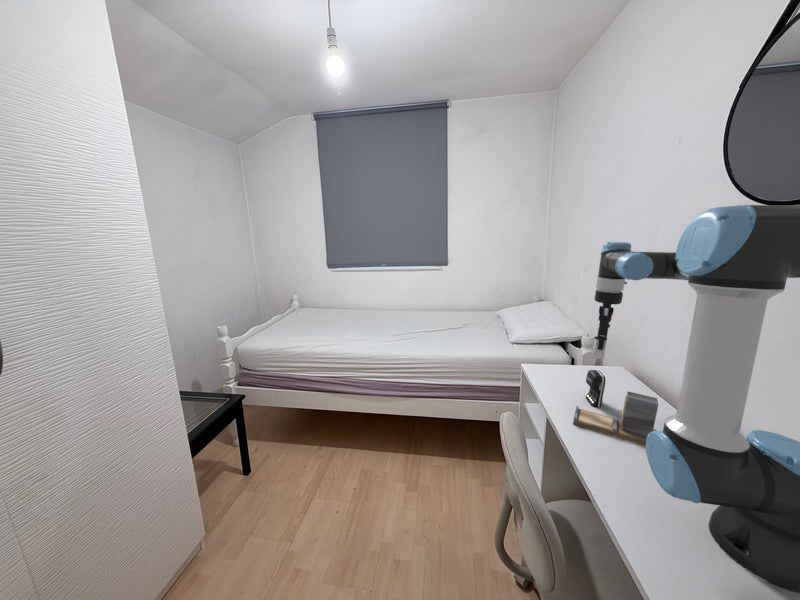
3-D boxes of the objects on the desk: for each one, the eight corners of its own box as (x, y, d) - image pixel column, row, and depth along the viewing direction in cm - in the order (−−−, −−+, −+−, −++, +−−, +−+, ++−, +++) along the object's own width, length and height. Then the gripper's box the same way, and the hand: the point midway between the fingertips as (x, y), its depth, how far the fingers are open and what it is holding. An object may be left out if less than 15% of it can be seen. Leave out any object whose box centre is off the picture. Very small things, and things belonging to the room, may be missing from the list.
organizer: (657, 449, 90) (666, 409, 87) (573, 424, 102) (578, 388, 99) (655, 434, 97) (663, 396, 94) (575, 411, 108) (580, 377, 105)
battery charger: (582, 396, 118) (586, 367, 115) (593, 397, 117) (598, 368, 114) (589, 406, 111) (594, 376, 108) (601, 408, 110) (606, 377, 108)
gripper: (624, 299, 92) (612, 367, 98) (622, 285, 113) (612, 342, 118) (593, 296, 96) (583, 361, 102) (597, 282, 117) (589, 338, 122)
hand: (599, 351), depth 110 cm, fingers open, 13 cm apart
